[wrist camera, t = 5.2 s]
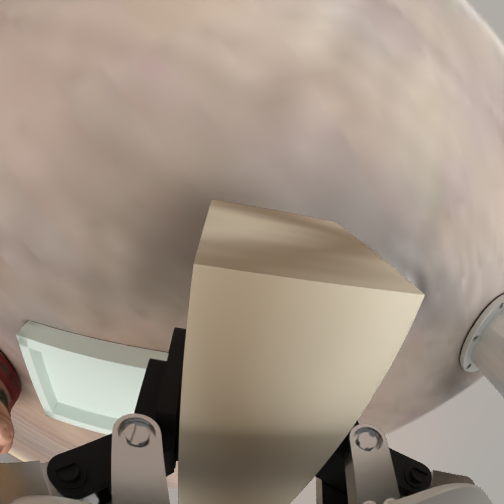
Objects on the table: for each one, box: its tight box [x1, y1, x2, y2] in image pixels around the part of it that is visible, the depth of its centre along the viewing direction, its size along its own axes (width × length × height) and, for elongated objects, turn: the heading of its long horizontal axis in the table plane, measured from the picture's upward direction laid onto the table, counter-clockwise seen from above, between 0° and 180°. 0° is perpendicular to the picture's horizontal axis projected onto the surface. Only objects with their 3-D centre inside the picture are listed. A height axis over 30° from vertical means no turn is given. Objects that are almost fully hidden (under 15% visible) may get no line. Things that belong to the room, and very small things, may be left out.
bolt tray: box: [16, 320, 168, 435], centre depth 24 cm, size 18×12×2 cm
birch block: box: [178, 200, 425, 504], centre depth 9 cm, size 4×12×5 cm, turn 169°
